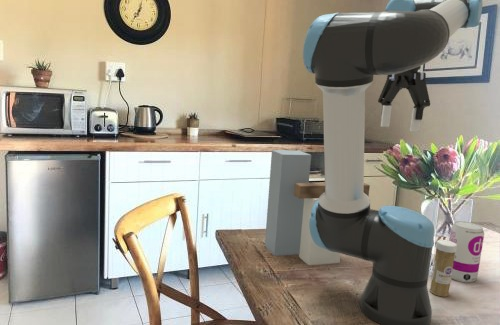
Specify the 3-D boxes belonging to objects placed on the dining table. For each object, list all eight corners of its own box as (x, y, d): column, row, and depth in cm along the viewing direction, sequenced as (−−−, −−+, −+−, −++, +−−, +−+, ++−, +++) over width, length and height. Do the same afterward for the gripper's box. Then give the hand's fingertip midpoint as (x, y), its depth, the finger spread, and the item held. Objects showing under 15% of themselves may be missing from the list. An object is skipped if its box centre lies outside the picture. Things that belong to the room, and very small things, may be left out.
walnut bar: (361, 194, 126) (362, 182, 125) (368, 197, 123) (369, 185, 122) (294, 195, 119) (295, 183, 118) (299, 198, 115) (300, 186, 115)
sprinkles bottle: (440, 298, 104) (448, 246, 102) (425, 290, 108) (432, 240, 106) (453, 295, 106) (461, 244, 104) (437, 287, 110) (445, 238, 108)
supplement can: (483, 281, 116) (492, 229, 113) (461, 285, 112) (469, 230, 110) (459, 269, 123) (467, 219, 120) (437, 272, 120) (445, 221, 117)
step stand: (313, 243, 137) (322, 151, 132) (339, 262, 122) (350, 160, 117) (264, 246, 131) (271, 150, 126) (285, 267, 116) (294, 159, 111)
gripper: (451, 54, 112) (440, 134, 116) (391, 58, 135) (383, 125, 139) (428, 51, 110) (417, 133, 113) (371, 56, 133) (364, 124, 136)
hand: (398, 129), depth 126 cm, fingers open, 13 cm apart
